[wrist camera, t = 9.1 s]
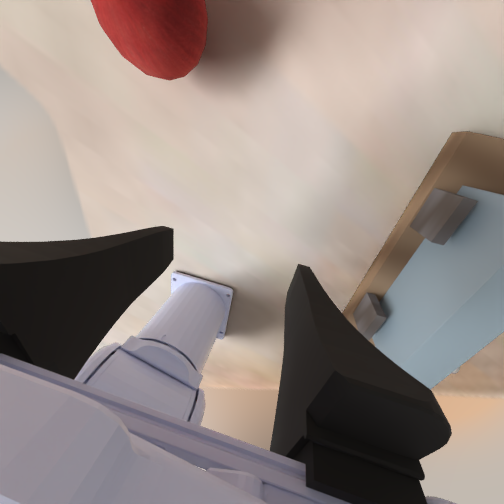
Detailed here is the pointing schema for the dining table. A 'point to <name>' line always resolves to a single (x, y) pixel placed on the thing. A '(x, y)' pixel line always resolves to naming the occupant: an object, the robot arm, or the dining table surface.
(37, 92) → the dining table surface
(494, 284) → the pale blue rectangular block
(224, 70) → the dining table surface
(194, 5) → the onion
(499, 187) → the rail
